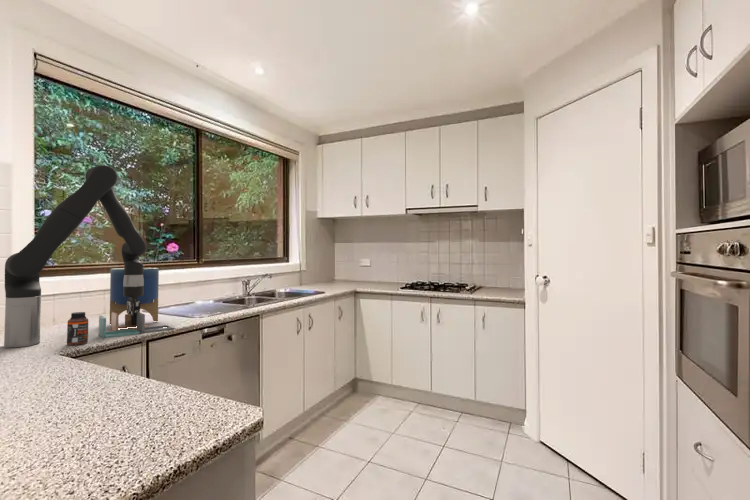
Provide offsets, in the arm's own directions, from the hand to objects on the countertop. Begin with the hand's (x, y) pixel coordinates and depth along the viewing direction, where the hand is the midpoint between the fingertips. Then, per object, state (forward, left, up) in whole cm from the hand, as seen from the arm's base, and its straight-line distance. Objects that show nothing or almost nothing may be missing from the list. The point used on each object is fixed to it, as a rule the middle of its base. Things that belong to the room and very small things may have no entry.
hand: (132, 324), depth 160 cm
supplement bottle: (-21, -17, -3) cm, 27 cm away
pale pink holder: (-1, 0, -2) cm, 3 cm away
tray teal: (-7, -10, -2) cm, 13 cm away
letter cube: (0, 0, -1) cm, 1 cm away
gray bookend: (+6, -10, -2) cm, 12 cm away
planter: (+4, +16, -3) cm, 17 cm away
